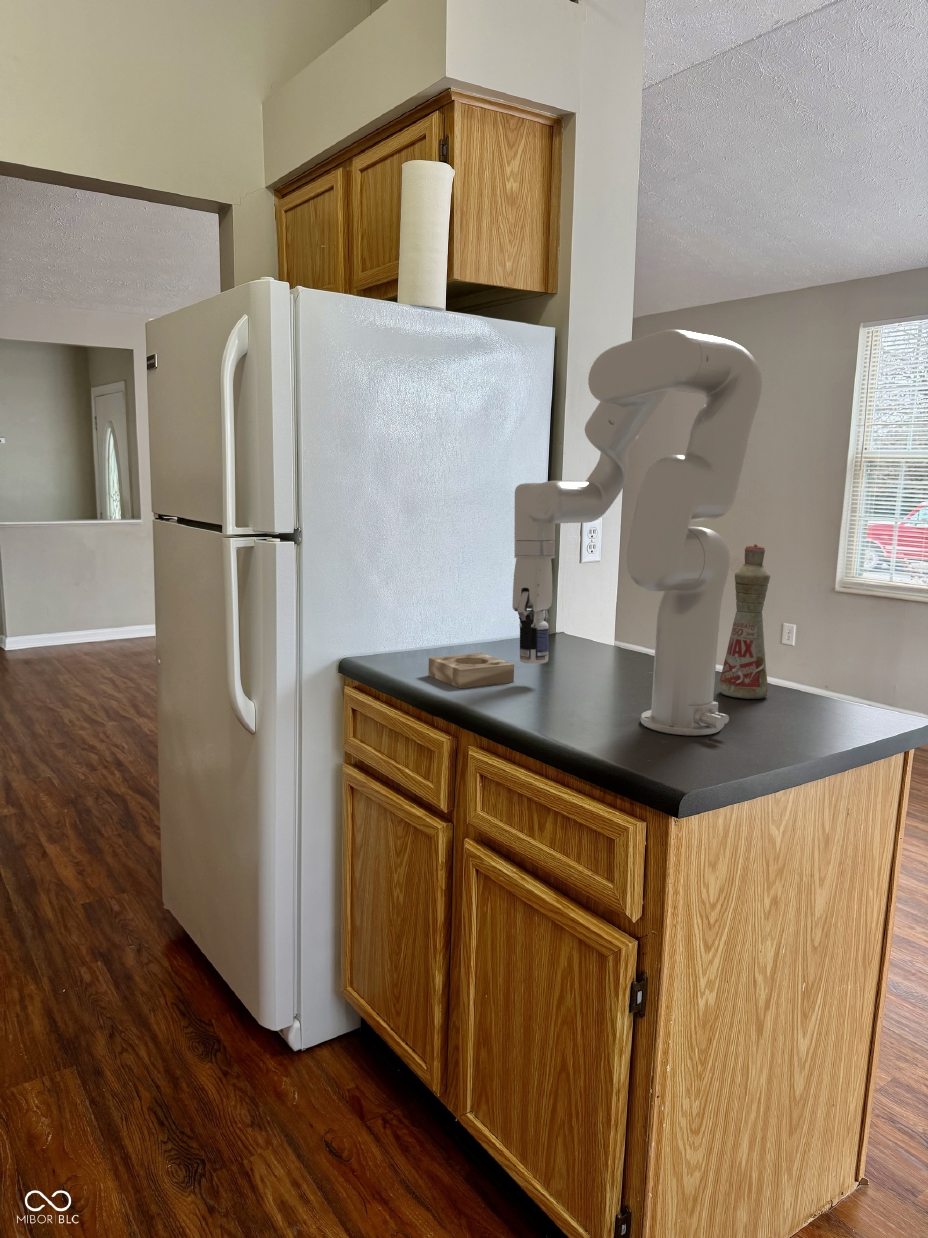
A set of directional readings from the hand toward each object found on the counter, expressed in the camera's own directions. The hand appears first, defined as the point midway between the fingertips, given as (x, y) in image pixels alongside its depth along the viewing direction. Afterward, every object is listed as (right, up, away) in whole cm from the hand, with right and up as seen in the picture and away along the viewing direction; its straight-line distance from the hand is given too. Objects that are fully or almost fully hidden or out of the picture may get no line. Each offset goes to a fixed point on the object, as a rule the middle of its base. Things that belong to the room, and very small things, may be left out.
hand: (534, 645), depth 166 cm
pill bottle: (0, -3, 0) cm, 3 cm away
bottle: (+38, -9, -3) cm, 40 cm away
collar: (-12, -6, +5) cm, 14 cm away
